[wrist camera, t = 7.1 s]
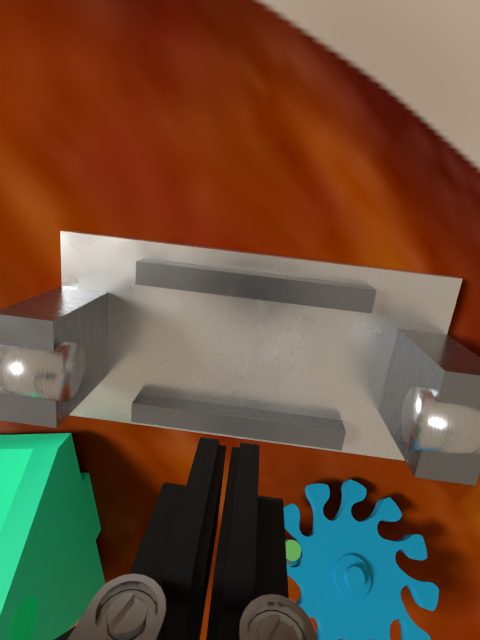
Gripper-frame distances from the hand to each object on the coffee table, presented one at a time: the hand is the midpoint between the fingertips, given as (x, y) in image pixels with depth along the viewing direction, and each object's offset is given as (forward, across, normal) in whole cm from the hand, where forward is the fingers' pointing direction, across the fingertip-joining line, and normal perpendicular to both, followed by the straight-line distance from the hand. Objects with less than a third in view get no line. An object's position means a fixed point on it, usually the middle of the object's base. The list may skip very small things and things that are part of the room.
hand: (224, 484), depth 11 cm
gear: (+13, -7, +10) cm, 18 cm away
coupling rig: (+12, 0, 0) cm, 12 cm away
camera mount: (+12, +13, +14) cm, 22 cm away
